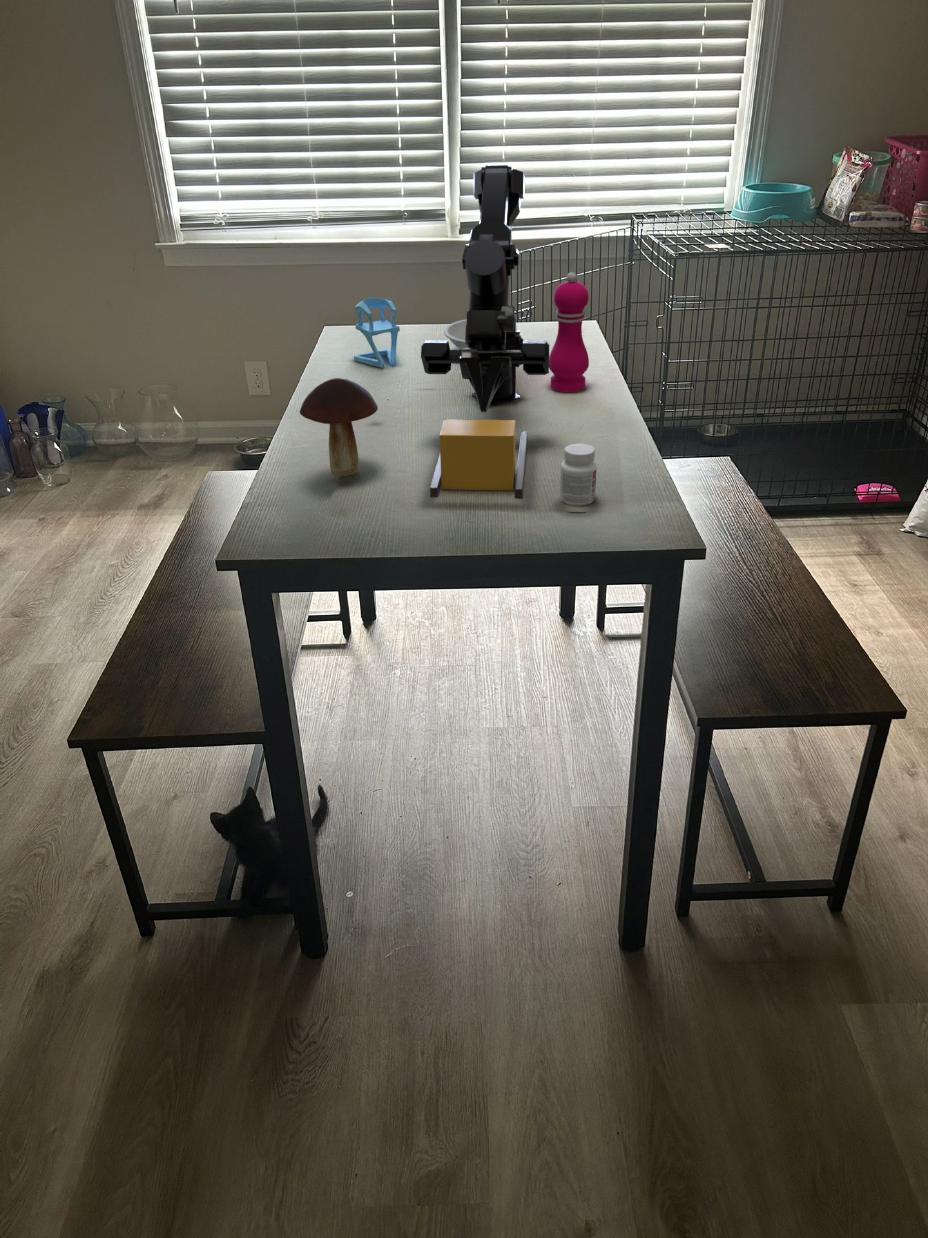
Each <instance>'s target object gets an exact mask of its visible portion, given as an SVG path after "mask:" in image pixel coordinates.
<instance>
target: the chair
mask: <svg viewBox="0 0 928 1238" xmlns="http://www.w3.org/2000/svg"><path fill="white" fill-rule="evenodd" d="M386 307H388V308H389V309H390V312H391V313H392V314H391V317H390V321H388V320H387V319H386V317H385V308H386ZM354 308H355V310H356V313H357V315H358V323H355V324H354V325H355V330H357V331H359V332H361V334H362V335H363V336H364V337H365V339H366V341H367V343H368V345H369V346H370V348H371V351H372V352H371V351H370V352H366V353H360V354H355V355H353V361H355V362H358V363H361V364H366V365H370V366H373V367H377V368H380V369H385V361H384V359H383V357H382V356H387V361H388V363H389V365H390V366H393V367H395V366H397V342H398V334H399V332H401V328H400V325H397V324H396V314H397V308H396V307H395V305H394V302H393V301H391V300H389V299H386V298H381V297H376V296H375V297H374V296H369V297H367V298H365V299H363V300H361V301H360V302H358V303H357V304H356V305H355V307H354ZM375 308H376V309H380V311H379V312H380V313H379V314H380V315H379V317H380V319H379V320H375V321H374V320H373V313H372V311H371V310H370V309H375ZM362 312H363V313H364V315H366V317H367V318H368V322H364V316H363V314H362ZM386 333H390V349H382V350H378V348H377V346H376V345H375V342H374V339H373V337H375V336H379V335H381V334H386ZM374 358H375V359H374Z"/></svg>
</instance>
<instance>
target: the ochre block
mask: <svg viewBox="0 0 928 1238" xmlns="http://www.w3.org/2000/svg"><path fill="white" fill-rule="evenodd" d="M516 421H517V420H515V419H444V420H443V423H442V426H441V430H440V432H439V455H440V460H441V486H440V487H441V490H453V491H454V490H457V491H459V490H461V491H508V492H509V491H511V492H512V491H514V490H515V481H516V443H517V442H516V438H517V437H516V435H517V434H516V431H517V430H516V429H517V427H516V426H517V425H516Z"/></svg>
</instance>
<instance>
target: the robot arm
mask: <svg viewBox="0 0 928 1238" xmlns="http://www.w3.org/2000/svg"><path fill="white" fill-rule="evenodd" d="M525 179H526V177H525V172H524V171H521V170H518V169H517V168H513V166H509V164H486V165H485V166H481V169H479V170H477V171H475V172H473V197H474V200H477V202H478V208H479V213H480V214H479V217H480V218H479V223H478V224H477V225H475V227H473V228H471V230H470V235H469V243H466V244H465V245H464V249H463V252H462V253H463V254H462V257H461V264H462V269H463V270H465V272H466V281H467V287H468V289H469V302H468V303H469V305H468V310H467V311H466V319H467V323H466V331H465V344H466V345H467V348H461V350H460V349H451V347H450V342H449V340H448V339H447V340H445V339H444V340H438V339H437V340H435V339H433V340H431V339H430V340H426V339H425V341H424V342H423V343H422V344H421V347H420V358H421V363H422V367H423V370H424V373H425V374H428V375H447V374H448V373H449V372H450V371H451V370H452V364H459V369H460V374H461V378H462V379H463V380H468V381H469V383H470V385H471V387H472V389H473V391H474V392H471V396H472V397H473V398H475V399H476V401H477V404H478V408H479V411H480V413H487V412H488V409H489V407H490V406H496V405H500V404H505V403H509V402H513V401H519V400H521V398H522V397H521V395H519V394H517V391H516V390H517V389H516V388H517V385H516V384H517V383H516V382H517V368H520V366H522V371H523V372H524V373H525V374H526V375H527V376H546V375H549V374H550V369H549V356H550V344H549V343H548V341H547V340H525V339H524V338H522V334H521V331H520V330H517V331H516V329H517V319H516V316H515V314H516V313H515V310H516V309H515V305H509V293H510V292H509V291H510V290H509V289H510V276H511V275H512V270H515V269H516V267H517V266H519V264H520V255H521V253H520V251H519V250H518V247H517V244H516V243H512V242H513V241H512V240H513V239H512V235H513V234H512V229H511V228H512V225H513V224H514V223H515V221H516V219H517V217H518V216H519V215H520V213H521V199H522V200H523V199H525V190H526V189H525V187H526V186H525V185H526V184H525V183H526V182H525Z"/></svg>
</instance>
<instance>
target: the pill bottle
mask: <svg viewBox="0 0 928 1238" xmlns="http://www.w3.org/2000/svg"><path fill="white" fill-rule="evenodd" d="M563 451H564V452H563V460H562V462H561V465H560V477H559V478H560V479H559V485H560V486H559V500H560V501H561V502H562V503H564V504H566V505H570V506H576V507H577V506H578V507H579V506H581V507H582V506H587V505H590V504H592V503H593V502H594V501H595V500H596V484H597V469H598V468H597V467H598V466H597V463H596V462H595V457H596V456H595V455H596V454H595V453H596V449H595V447H594V446H592V445H590V444H586V443H571V444H569V445H566V446H565V447H564V449H563ZM568 513H569V514H578V515H579V514H587V513H588V512H587V511H568Z"/></svg>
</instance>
